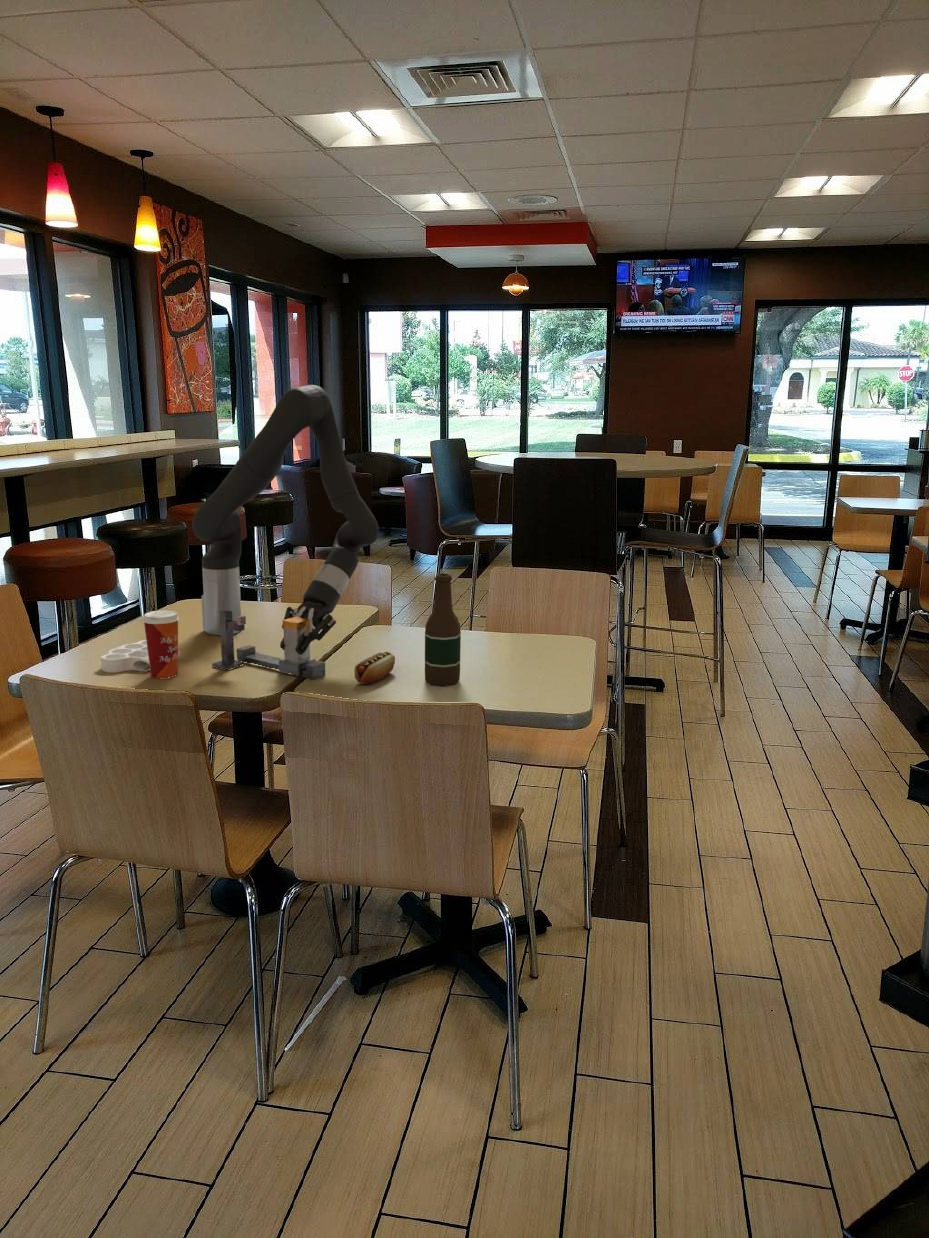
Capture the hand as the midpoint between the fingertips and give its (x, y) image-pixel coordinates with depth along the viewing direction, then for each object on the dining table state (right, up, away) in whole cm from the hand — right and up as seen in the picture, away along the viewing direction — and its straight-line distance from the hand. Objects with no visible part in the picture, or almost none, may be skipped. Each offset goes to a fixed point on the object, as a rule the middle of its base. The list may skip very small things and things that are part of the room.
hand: (291, 650), depth 204 cm
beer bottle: (+34, -7, -2) cm, 34 cm away
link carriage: (+1, -5, +3) cm, 6 cm away
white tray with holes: (-37, -4, +9) cm, 38 cm away
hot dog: (+19, -7, 0) cm, 20 cm away
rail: (-4, -4, +6) cm, 8 cm away
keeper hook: (-14, -4, +6) cm, 16 cm away
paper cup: (-28, -6, -1) cm, 28 cm away
